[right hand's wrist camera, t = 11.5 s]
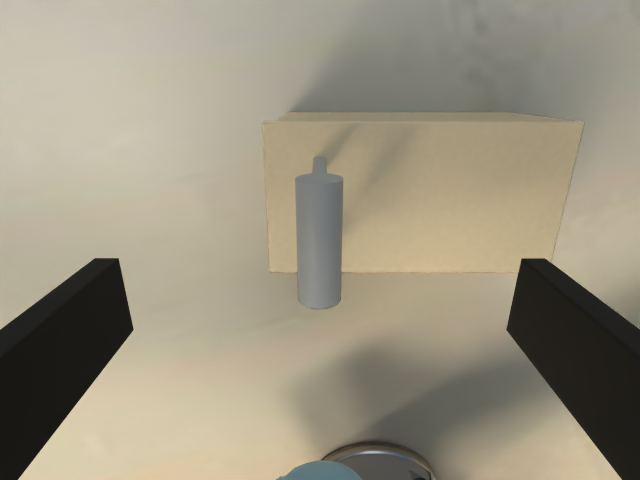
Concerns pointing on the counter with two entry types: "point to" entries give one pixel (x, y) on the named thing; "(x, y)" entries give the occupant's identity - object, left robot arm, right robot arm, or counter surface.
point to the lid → (412, 197)
